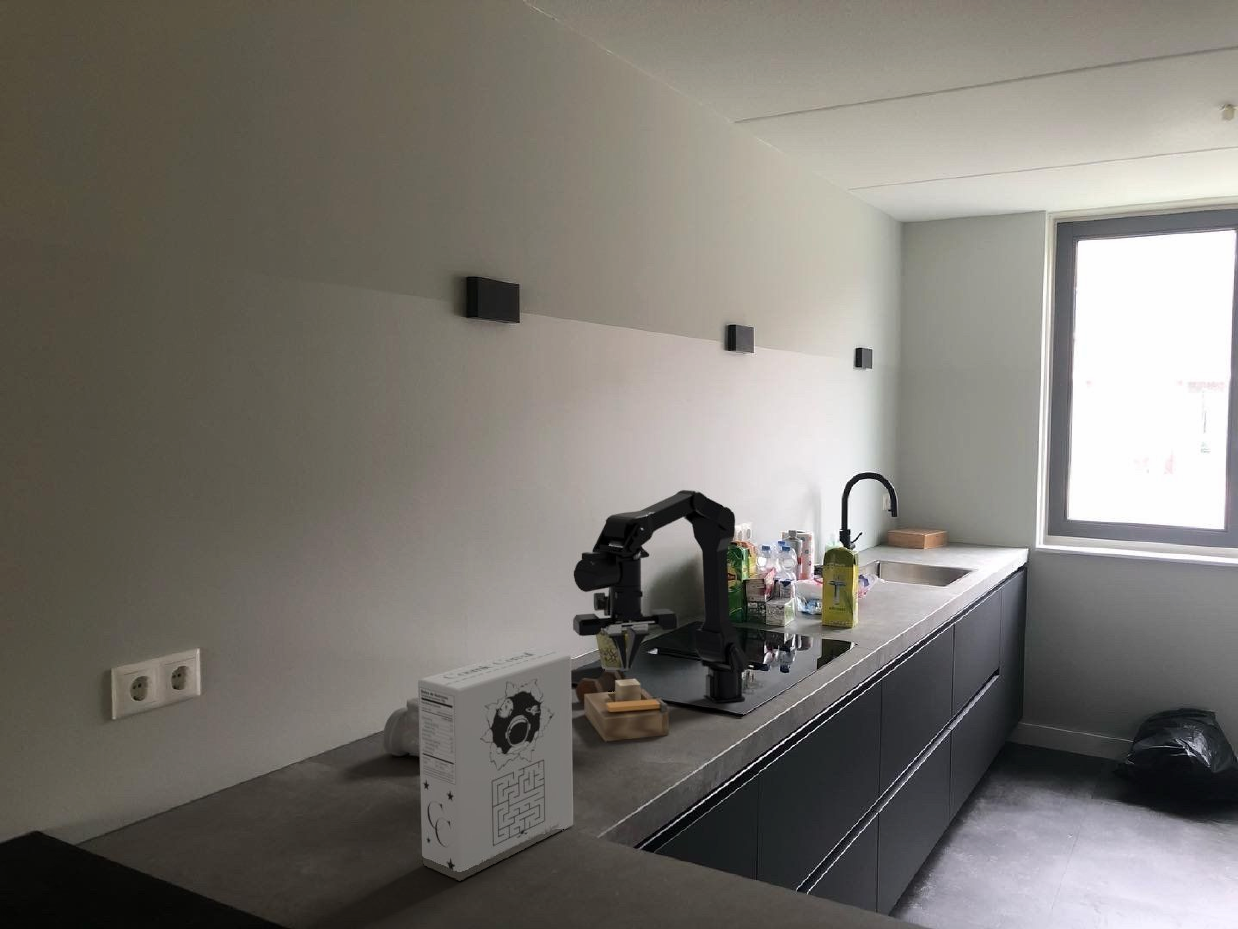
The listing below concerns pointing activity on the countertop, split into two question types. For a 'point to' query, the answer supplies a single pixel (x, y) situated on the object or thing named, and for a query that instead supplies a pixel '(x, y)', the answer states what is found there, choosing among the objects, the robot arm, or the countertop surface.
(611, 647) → the ceramic cup
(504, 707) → the cereal box
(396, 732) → the pipe fitting
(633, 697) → the peg
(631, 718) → the block
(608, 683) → the bolt
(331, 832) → the countertop surface
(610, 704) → the gate
